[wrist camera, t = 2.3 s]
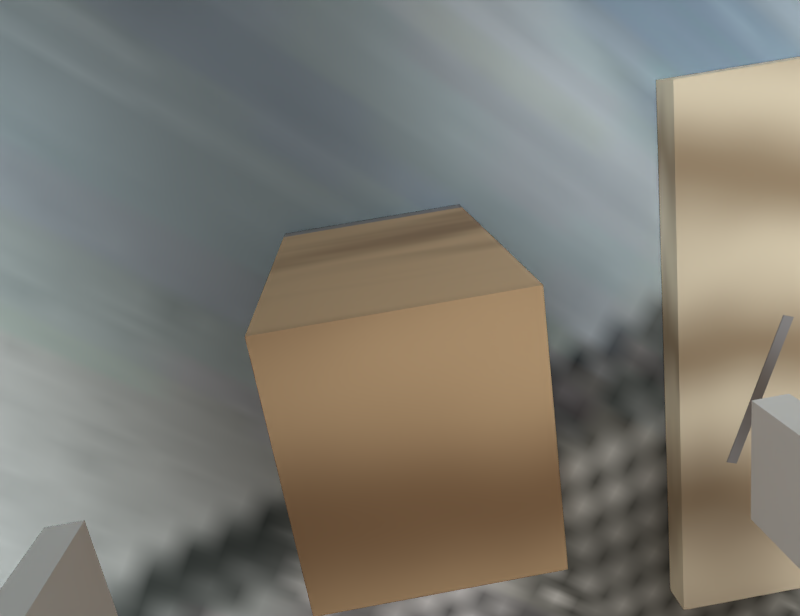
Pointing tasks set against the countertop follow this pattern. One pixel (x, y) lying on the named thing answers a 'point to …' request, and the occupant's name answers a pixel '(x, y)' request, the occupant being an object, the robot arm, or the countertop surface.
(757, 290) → the birch board
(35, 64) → the countertop surface
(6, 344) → the countertop surface
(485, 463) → the cardboard box
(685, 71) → the countertop surface
